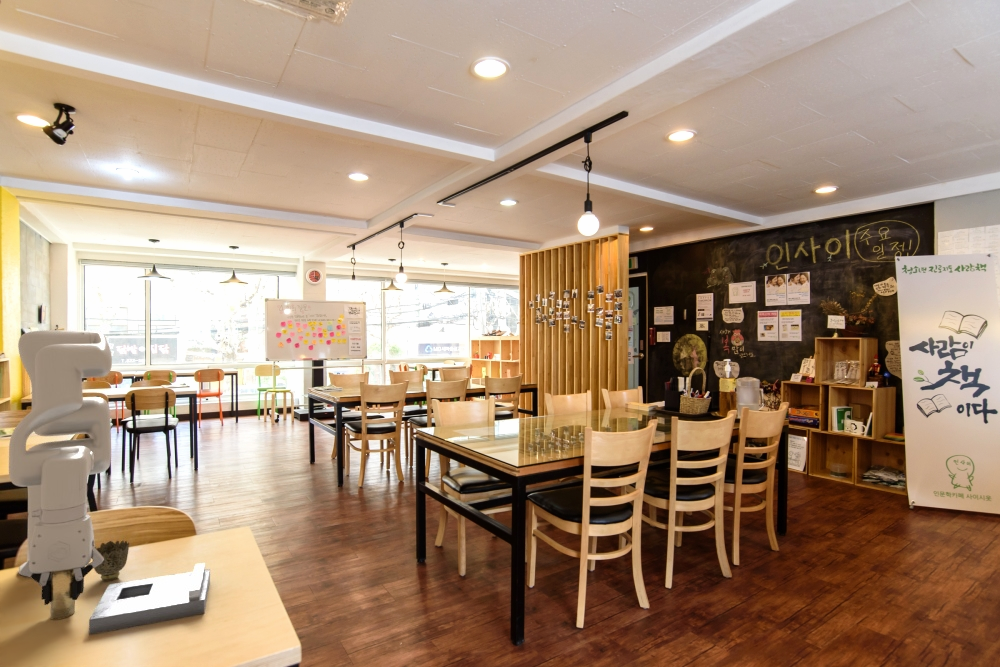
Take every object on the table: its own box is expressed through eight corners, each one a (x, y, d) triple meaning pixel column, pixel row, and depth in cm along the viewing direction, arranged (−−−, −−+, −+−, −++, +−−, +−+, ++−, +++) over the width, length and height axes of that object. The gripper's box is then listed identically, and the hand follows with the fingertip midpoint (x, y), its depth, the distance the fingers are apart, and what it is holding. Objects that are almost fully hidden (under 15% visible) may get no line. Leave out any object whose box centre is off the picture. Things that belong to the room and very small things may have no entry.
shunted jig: (109, 597, 119) (109, 575, 119) (209, 581, 128) (210, 560, 128) (88, 634, 105) (89, 609, 105) (204, 613, 113) (204, 590, 113)
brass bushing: (54, 611, 113) (54, 564, 113) (77, 607, 115) (77, 561, 115) (47, 621, 109) (48, 572, 109) (71, 616, 111) (72, 569, 111)
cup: (108, 587, 124) (109, 553, 124) (82, 584, 126) (83, 550, 126) (136, 573, 131) (136, 541, 131) (111, 570, 133) (112, 538, 133)
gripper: (5, 524, 105) (3, 616, 105) (107, 513, 112) (106, 600, 112) (20, 512, 112) (19, 599, 112) (116, 503, 119) (115, 584, 119)
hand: (62, 598), depth 112 cm, fingers closed on brass bushing, 4 cm apart
